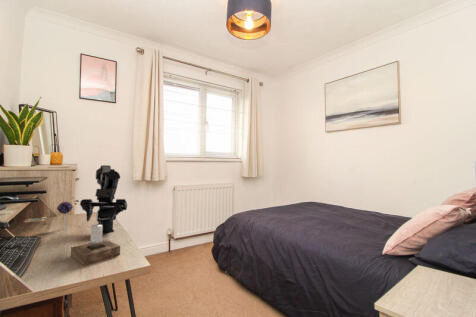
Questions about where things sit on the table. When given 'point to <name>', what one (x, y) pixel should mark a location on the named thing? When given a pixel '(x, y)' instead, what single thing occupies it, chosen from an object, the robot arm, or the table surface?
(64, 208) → the lollipop
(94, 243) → the translucent grey tall block
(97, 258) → the socket block
